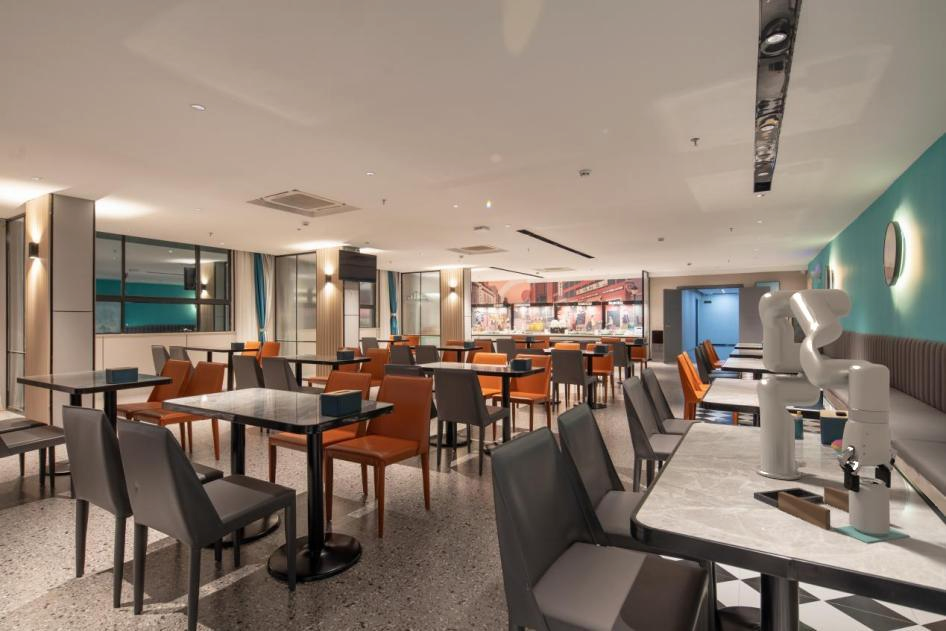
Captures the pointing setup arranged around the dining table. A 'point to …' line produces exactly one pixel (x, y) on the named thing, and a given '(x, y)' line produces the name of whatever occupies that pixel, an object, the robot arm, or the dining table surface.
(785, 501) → the wooden corridor walls
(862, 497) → the can
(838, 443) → the cupcake
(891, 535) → the pad
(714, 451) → the dining table surface
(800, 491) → the tray
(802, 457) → the dining table surface
